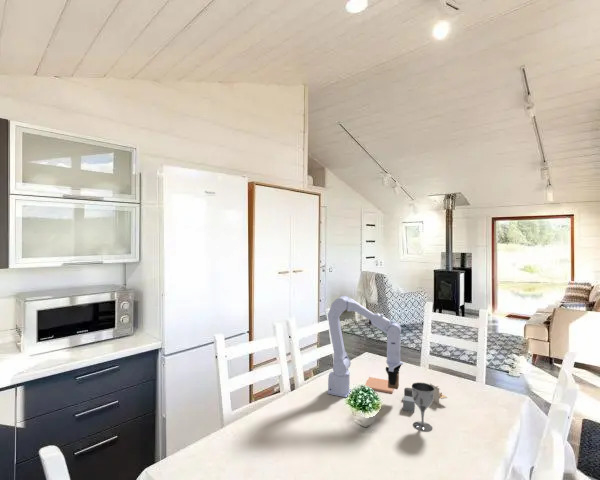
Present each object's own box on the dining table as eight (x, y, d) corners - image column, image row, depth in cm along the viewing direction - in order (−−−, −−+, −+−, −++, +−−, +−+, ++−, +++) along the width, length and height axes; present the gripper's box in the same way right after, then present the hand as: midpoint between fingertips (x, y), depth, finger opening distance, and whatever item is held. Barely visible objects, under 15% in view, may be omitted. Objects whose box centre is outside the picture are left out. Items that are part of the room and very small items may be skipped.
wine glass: (430, 434, 125) (430, 393, 125) (408, 427, 129) (408, 387, 129) (436, 425, 131) (436, 386, 131) (415, 418, 136) (415, 380, 136)
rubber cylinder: (403, 399, 152) (403, 390, 152) (404, 395, 156) (404, 387, 156) (413, 401, 151) (413, 392, 151) (414, 397, 154) (414, 388, 154)
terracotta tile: (364, 388, 163) (364, 386, 163) (369, 379, 174) (369, 377, 174) (392, 393, 158) (392, 391, 158) (395, 383, 169) (395, 381, 169)
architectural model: (435, 398, 154) (435, 382, 154) (447, 405, 148) (447, 388, 148) (429, 399, 153) (429, 383, 153) (440, 407, 147) (440, 389, 146)
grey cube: (402, 410, 142) (403, 399, 142) (404, 405, 146) (404, 395, 146) (414, 412, 141) (414, 402, 141) (415, 407, 145) (415, 397, 145)
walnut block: (388, 387, 149) (388, 373, 149) (389, 384, 153) (389, 370, 153) (397, 389, 147) (397, 375, 147) (398, 385, 151) (398, 372, 151)
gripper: (401, 357, 142) (400, 390, 142) (405, 347, 155) (404, 377, 155) (383, 355, 144) (383, 387, 144) (389, 345, 158) (388, 375, 158)
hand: (393, 382), depth 150 cm, fingers closed on walnut block, 4 cm apart
